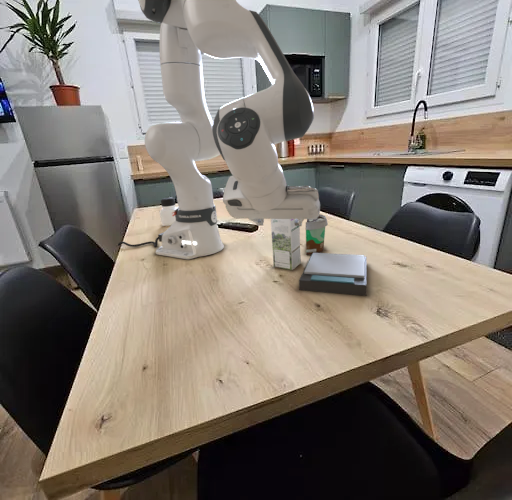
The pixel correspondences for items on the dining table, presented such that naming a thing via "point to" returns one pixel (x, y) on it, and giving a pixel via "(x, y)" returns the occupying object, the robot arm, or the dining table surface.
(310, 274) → the kitchen scale
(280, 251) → the syrup box
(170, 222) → the medicine bottle
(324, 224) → the food container
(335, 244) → the dining table surface
